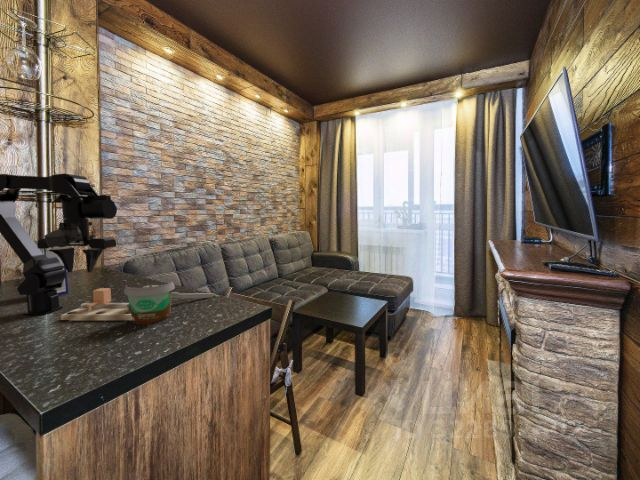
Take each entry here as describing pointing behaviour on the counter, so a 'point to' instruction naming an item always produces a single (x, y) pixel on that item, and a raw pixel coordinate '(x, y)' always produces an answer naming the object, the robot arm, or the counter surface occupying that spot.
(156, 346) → the counter surface
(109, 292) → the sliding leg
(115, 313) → the hole plate
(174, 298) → the caliper
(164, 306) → the food container
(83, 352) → the counter surface
